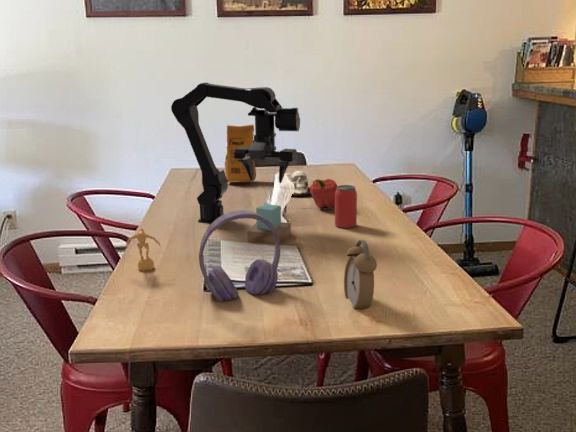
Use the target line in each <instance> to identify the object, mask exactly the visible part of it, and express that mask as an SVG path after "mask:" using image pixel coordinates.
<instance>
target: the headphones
mask: <svg viewBox="0 0 576 432" xmlns="http://www.w3.org/2000/svg"><path fill="white" fill-rule="evenodd" d="M241 219H252V220H256V221H257V220H259V221H261V222H263V223H265V224H266V225H267V226H268V227H269V228H270V230H271V231H272V233H273V235H274V238H275V241H276V243H275V244H274V245H275V246H274V247H275V248H274V256H273V259H272V263H271V262H270V261H267V260H266V259H263V258H258V259H255V260H254V261H253V262H252V263H251V264H250V266H249V267H248V269H247V272H246V275H245V280H244V288H245V290H246V292H247V293H248V294H250V295H252V296H253V295H255V296H256V295H265V294H272V293H273V291H274V290H275V288H276V286H277V283H278V278H279V277H278V267H279V262H280V258H281V244H280V242H279V237H278V234H277V231H276V229H275V228H274V226H273V225H272V224H271V223H270V222H269V221H268V220H266V219H265V218H264V217H262V216H261V215H259V214H257V213H256V212H255V211H251V210H247V209H245V210H244V209H239V210H233V211H229V212H226V213H224V215H222V216H220V217H219V218H217V219H216V220H215V221H214V222H213V223H210V225H209V226H208V227H207V229H206V230H205V232H204V233H203V236H202V238H201V241H200V245H199V251H198V263H199V268H200V270H201V273H202V274H201V275H202V276H203V279H204V284H205V285H206V286H207V288H208V290H209V291H210V293H211V294H212V296H214V298H215V299H216V300H217V302H219V303H221V302H224V301H232V300H234V299H236V298H237V297H238V296H239V292H238V290H237V287H236V285H235V284H234V282H233V281H232V279H231V278H230V277H229V275H228V274H227V272H226V271H225V270H224V268H222V266H221V265H216V266H214V267H213V268H212V269H211V270H209V271H208V273H207V270H206V266H205V259H204V258H205V257H204V256H205V255H204V251H205V246H206V244H207V242H208V240H209V238H210V236H212V234H213V232H215V231H216V230H217V229H218V228H220V227H221V226H222V225H224V224H226V223H229V222H231V221H235V220H241Z"/></svg>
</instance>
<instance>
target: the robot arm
mask: <svg viewBox="0 0 576 432" xmlns="http://www.w3.org/2000/svg"><path fill="white" fill-rule="evenodd" d="M206 98H212V99H221V100H228V101H233V102H241V103H244V104H246V105H248V106H250V107H252V109H251V110H250V111H249V112H248V113H247V116H248V117H251V116H252V117H254V132H255V133H254V135H253V143H252V144H251V145H250V147H239V148H237V149H235V150H234V159H238V161H239V162H242V163H243V164H244V166H245V168H246V170H247V173H248V175H249V178H250V180H251V181H250V182H253V178H254V164H253V159H254V160H259V161H262V160H265V159H266V158H278V159H279V161H278V167H279V168H278V169H279V170H278V184H281V183H282V182H283V179H284V177H285V174H286V172H287V168H288V166H289V165H290V164H291V163H293V162H294V161H295V160H297V159H298V151H297V149H296V148H283V149H282V150H280V151H278V150H277V146H276V143H275V142H276V141H275V140H276V139H275V137H277V133H276V132H275V128H276V129H277V130H278V131H279V132H299V131H300V127H301V117H300V113H299V107H291V108H289V107H288V108H283V107H282V105H281V103H280V102H279V101H278V99H276V93H275V91H274V90H273V89H272V88H271V87H268V86H265V87H264V86H262V87H248V88H244V87H238V86H229V85H222V84H215V83H214V84H213V83H209V82H202V83H201V82H200V83H199V84H197V85H196V87H194V88H193V89H192V90H191V91H189V92H188V93H186V94H185V95H184V96H183V97H180V98H177V99H175V100H174V101H173V102H172V104H171V107H170V108H171V109H170V111H171V113H172V115H173V116H174V117H175V120H176V121H177V122H178V123H179V125H180V126H181V127H182V128H183V129H184V130H185V133H186V137H187V139H188V141H189V144H190V146H191V149H192V151H193V155H194V156H195V159H196V162H197V165H198V166H199V169H200V171H201V185H202V189H203V191H201V193H200V194H199V195H198V196H197V198H196V200H197V202H198V204H199V216H200V217H199V219H198V220H197V222H198V223H207V224H212V223H213V222H214V221H215V220H216V219H217V218H219V217H220V216H222V215H224V214H225V213H224V205H223V204H222V203H223V202H222V198H223V195H224V194H225V193H227V191H228V189H229V184H228V183H230V182H229V181H228V180H227V178H226V171H225V169H222V170H220V169H218V168H217V167H216V164H215V161H214V159H213V157H212V154H211V152H210V150H209V147H208V144H207V141H206V138H205V137H204V134H203V131H202V129H201V126H200V122H199V121H200V120H199V109H198V106H199V105H201V104H202V103H203V102H204V100H205V99H206Z"/></svg>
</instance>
